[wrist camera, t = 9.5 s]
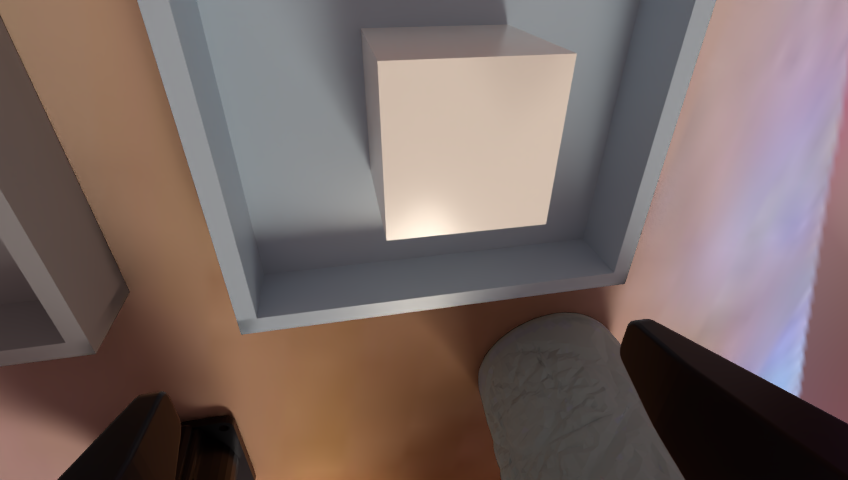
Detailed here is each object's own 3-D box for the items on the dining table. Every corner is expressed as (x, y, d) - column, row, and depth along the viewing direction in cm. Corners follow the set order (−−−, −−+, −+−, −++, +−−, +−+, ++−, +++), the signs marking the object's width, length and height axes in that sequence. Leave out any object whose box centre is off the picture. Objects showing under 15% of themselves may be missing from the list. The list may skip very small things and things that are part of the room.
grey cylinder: (612, 392, 30) (751, 606, 21) (469, 433, 30) (544, 674, 20) (625, 281, 25) (829, 504, 15) (449, 329, 24) (540, 596, 14)
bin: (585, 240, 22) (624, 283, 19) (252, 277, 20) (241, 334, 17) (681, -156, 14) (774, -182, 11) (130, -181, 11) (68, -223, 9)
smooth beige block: (494, 160, 18) (546, 224, 14) (370, 170, 17) (386, 241, 13) (507, 24, 15) (577, 53, 11) (360, 28, 14) (377, 60, 10)
